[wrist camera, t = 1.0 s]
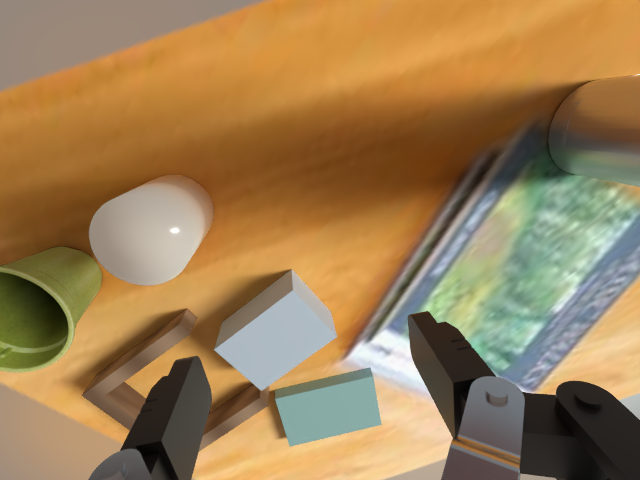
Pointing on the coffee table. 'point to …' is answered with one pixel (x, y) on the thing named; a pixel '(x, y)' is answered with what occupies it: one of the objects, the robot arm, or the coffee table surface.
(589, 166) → the robot arm
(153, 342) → the display bay
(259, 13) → the coffee table surface
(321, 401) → the green flat block
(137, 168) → the coffee table surface
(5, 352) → the plant pot
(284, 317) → the carton
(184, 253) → the white capsule shape
